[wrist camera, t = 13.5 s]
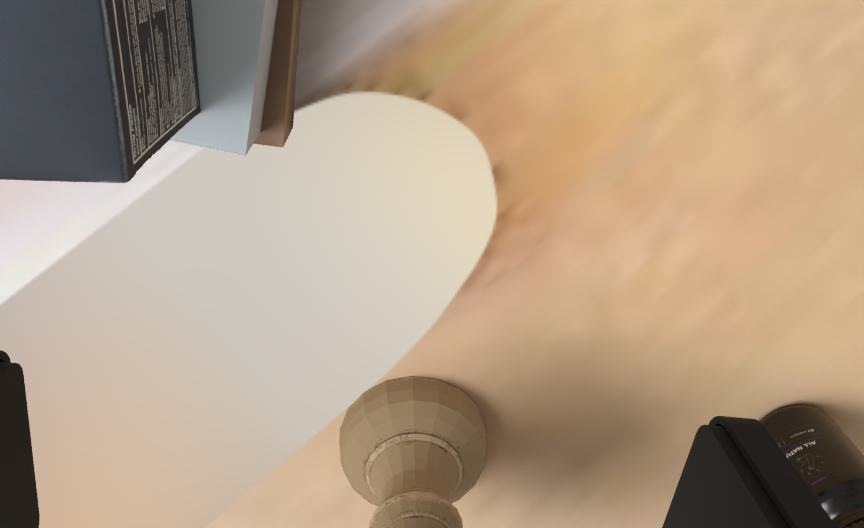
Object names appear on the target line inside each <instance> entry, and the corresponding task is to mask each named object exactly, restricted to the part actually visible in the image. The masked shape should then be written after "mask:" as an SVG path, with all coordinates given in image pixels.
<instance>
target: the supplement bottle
mask: <svg viewBox="0 0 864 528" xmlns="http://www.w3.org/2000/svg"><path fill="white" fill-rule="evenodd" d="M760 423H761V424H762V425H763V426H764V427H765V428H766V430H767V431H768V433H769V434H770V435H771V437H772V438H773V439H774V441H775V442H776V444H777V445H778V446H779V448H780V449H781V450H782V452H783V453H784V455H785V456H786V457H787V459H788V460H789V461H790V463H791V464H792V466H793V467H794V468H795V470H796V471H797V473H798V474H799V475H800V477H801V478H802V479H803V481H804V482H805V484H806V485H807V486H808V488H809V489H810V490H811V492H812V493H813V495H814V496H815V497H816V499H817V500H818V501H819V503H820V504H821V506H822V507H823V508H824V510H825V511H826V512H827V514H828V515H829V517H830V518H831V519H832V521H833V522H834V524H835V525H836V526H837V528H864V456H863V455H862V453H861V452H860V451H859V450H858V449H857V447H856V446H855V445H854V444H853V443H852V441H851V440H850V439H849V438H848V437H847V435H846V434H845V433H844V432H843V431H842V429H841V428H840V427H839V426H838V425H837V424H836V422H835V421H834V420H833V419H832V418H831V417H830V416H829V415H828V414H827V413H825V412H824V411H822V410H820V409H818V408H815V407H812V406H806V405H794V406H788V407H784V408H781V409H779V410H776V411H774V412H772V413H771V414H769V415H767V416H766V417H765V418H763V419H762V420H761V421H760Z"/></svg>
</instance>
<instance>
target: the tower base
mask: <svg viewBox="0 0 864 528" xmlns="http://www.w3.org/2000/svg"><path fill="white" fill-rule="evenodd" d="M300 13H301V0H278V6H277V13H276V20H275V28H274V35H273V43H272V50H271V57H270V65H269V72H268V80H267V87H266V95H265V102H264V109H263V117H262V124H261V132H260V134H259V135H258V137H257V138H256V140H255V141H254V144H262V145H269V146H277V147H283V146H284V144H285V142H286V140H287V138H288V136H289V134H290V132H291V130H292V128H293V119H294V112H293V104H294V91H295V78H296V65H297V52H298V39H299V26H300Z"/></svg>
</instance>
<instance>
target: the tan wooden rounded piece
mask: <svg viewBox="0 0 864 528" xmlns="http://www.w3.org/2000/svg"><path fill="white" fill-rule="evenodd" d="M486 441H487V437H486V428H485V424H484V421H483V419H482V417H481V414H480V412H479V409H478V407H477V405H476V404H475V403H474V402H473V401H472V400H471V399H470V398H469V397H468V396H467V395H466V394H465V393H464V392H463V391H462V390H460V389H458V388H456V387H453V386H451V385H449V384H447V383H445V382H443V381H441V380H438V379H430V378H422V377H414V376H412V377H406V378H400V379H394V380H388V381H385V382H383V383H381V384H379V385H377V386H375V387H373V388H371V389H369V390H367V391H366V392H364V393H363V394H362V395H361V396H360V397H359V398H358V399H357V400H356V401H355V402H354V403H353V404H352V405H351V407H350V408H349V409H348V410H347V413H346V416H345V418H344V421H343V423H342V426H341V429H340V455H341V464H342V467H343V471H344V473H345V475H346V476H347V478H348V480H349V482H350V484H351V486H352V488H353V489H354V490H355V491H356V492H358V493H359V494H360V495H361V496H362V497H363V498H365V499H366V500H367V501H368V502H369V503H372V504H374V505H377V506H379V507H378V508H377V509H376V510H375V512H374V514H373V516H372V519H371V521H370V527H369V528H462V527H463V524H462V519H461V517H460V515H459V512H458V510H457V508H456V507H454V506H453V505H452V504H451V503H453V502H456V501H458V500H459V499H460V498H461V497H463V496H464V495H465V494H466V493H467V492H468V491H469V490H470V489H471V488H472V487H473V486H474V485H475V484H476V482H477V480H478V478H479V476H480V474H481V472H482V470H483V468H484V464H485V459H486Z"/></svg>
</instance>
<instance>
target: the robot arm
mask: <svg viewBox="0 0 864 528" xmlns="http://www.w3.org/2000/svg"><path fill="white" fill-rule="evenodd" d="M0 528H39V508H38V499H37V490H36V481H35V473H34V464H33V456H32V446H31V437H30V429H29V420H28V411H27V402H26V393H25V384H24V375H23V370H22V368H21V367H20V365H19V364H17V363H11V362H10V358H9V356H8V355H7V353H5V352H4V351H0ZM662 528H837V526H836V525H835V524H834V522H833V521H832V519H831V518H830V517H829V515H828V514H827V512H826V511H825V510H824V508H823V507H822V506H821V504H820V503H819V501H818V500H817V499H816V497H815V496H814V495H813V493H812V492H811V490H810V489H809V488H808V486H807V485H806V484H805V482H804V481H803V479H802V478H801V477H800V475H799V474H798V473H797V471H796V470H795V468H794V467H793V466H792V464H791V463H790V461H789V460H788V459H787V457H786V456H785V455H784V453H783V452H782V450H781V449H780V448H779V446H778V445H777V444H776V442H775V441H774V439H773V438H772V437H771V435H770V434H769V433H768V431H767V430H766V428H765V427H764V426H763V425H762V424H761V423H760V422H759V421H758V420H755V419H747V418H736V417H725V416H717V417H714V418H713V419H712V420H711V421H710V423H709V425H703V426H701V427H700V428H699V429H698V431H697V433H696V436H695V438H694V441H693V444H692V447H691V450H690V452H689V455H688V458H687V461H686V463H685V466H684V469H683V472H682V475H681V477H680V480H679V483H678V486H677V488H676V491H675V494H674V497H673V500H672V502H671V505H670V508H669V511H668V513H667V516H666V519H665V522H664V524H663V527H662Z"/></svg>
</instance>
